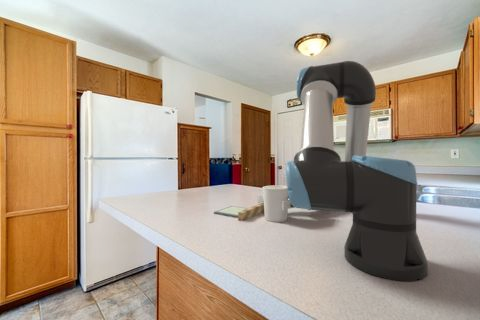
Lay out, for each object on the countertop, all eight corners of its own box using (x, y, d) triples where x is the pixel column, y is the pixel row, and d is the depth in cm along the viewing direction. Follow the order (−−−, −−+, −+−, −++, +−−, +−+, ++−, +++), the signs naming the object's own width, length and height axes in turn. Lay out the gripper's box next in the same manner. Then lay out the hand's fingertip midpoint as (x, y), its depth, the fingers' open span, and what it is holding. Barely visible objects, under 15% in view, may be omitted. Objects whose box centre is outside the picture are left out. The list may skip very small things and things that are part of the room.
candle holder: (258, 216, 86) (258, 186, 86) (281, 214, 89) (281, 184, 89) (269, 223, 77) (269, 189, 77) (294, 221, 80) (293, 188, 80)
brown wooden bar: (242, 221, 80) (242, 212, 80) (238, 220, 82) (238, 212, 82) (267, 209, 97) (267, 202, 97) (263, 209, 98) (263, 202, 98)
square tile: (239, 218, 84) (239, 216, 84) (213, 213, 91) (213, 211, 91) (256, 211, 95) (256, 209, 95) (232, 207, 102) (232, 205, 102)
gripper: (334, 210, 83) (295, 220, 71) (286, 200, 103) (250, 206, 92) (334, 190, 82) (295, 197, 71) (286, 184, 103) (249, 188, 92)
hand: (269, 202), depth 81 cm, fingers open, 13 cm apart
